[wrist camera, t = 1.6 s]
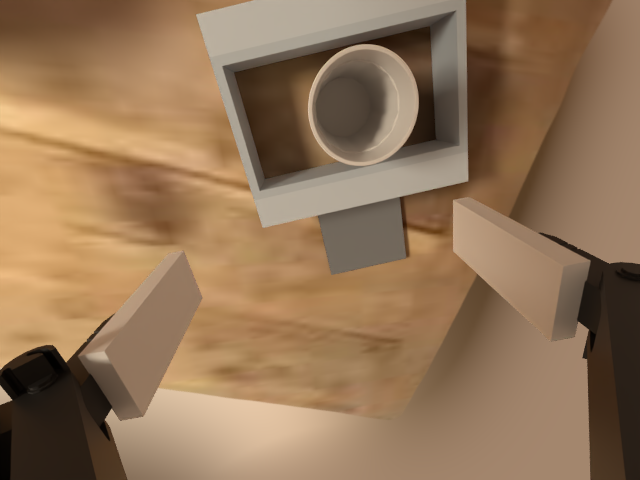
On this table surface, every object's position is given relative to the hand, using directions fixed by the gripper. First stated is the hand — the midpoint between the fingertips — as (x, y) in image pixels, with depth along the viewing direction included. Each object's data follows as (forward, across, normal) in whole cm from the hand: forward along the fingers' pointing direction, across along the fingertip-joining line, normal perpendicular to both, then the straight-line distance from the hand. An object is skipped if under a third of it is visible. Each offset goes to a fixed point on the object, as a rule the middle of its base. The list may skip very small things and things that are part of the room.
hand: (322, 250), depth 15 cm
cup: (+22, +5, +6) cm, 23 cm away
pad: (+22, +5, -9) cm, 24 cm away
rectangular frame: (+22, +5, +6) cm, 23 cm away
